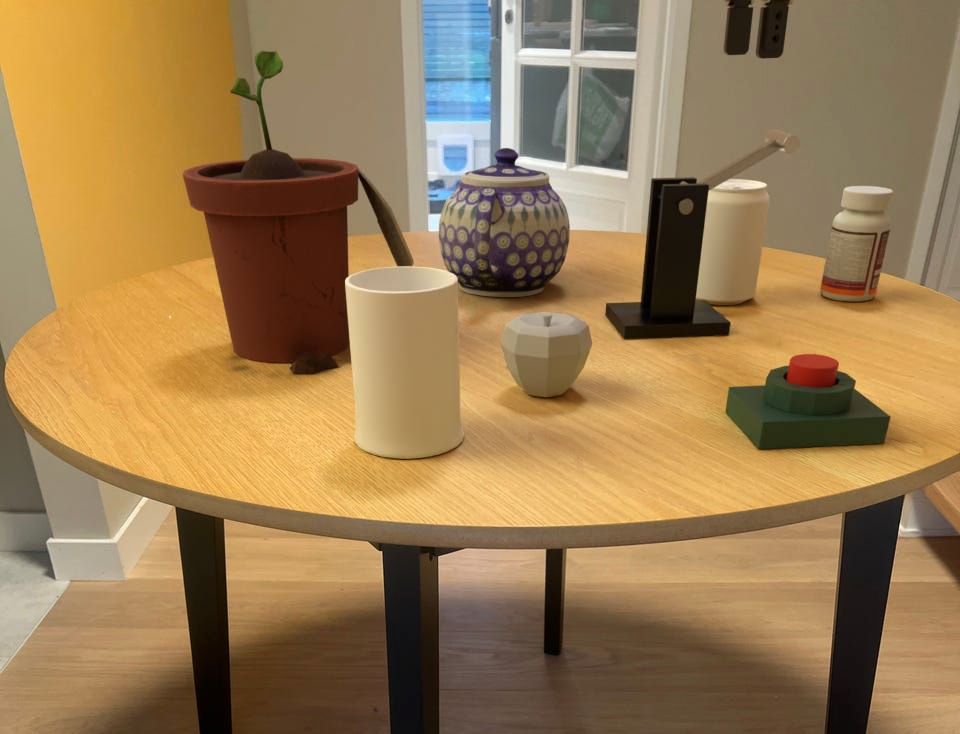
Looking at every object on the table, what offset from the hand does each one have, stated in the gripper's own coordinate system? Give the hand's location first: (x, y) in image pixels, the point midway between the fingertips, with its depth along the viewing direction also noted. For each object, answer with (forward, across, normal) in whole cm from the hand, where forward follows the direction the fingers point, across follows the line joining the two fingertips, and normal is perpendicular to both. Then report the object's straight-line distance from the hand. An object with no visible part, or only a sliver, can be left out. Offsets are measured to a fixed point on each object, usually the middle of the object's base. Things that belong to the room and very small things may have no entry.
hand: (751, 56), depth 85 cm
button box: (+24, -28, +3) cm, 37 cm away
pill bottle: (+25, +11, -19) cm, 33 cm away
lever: (+11, +2, 0) cm, 11 cm away
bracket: (+24, +2, +6) cm, 25 cm away
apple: (+24, -17, +22) cm, 36 cm away
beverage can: (+24, +12, -4) cm, 27 cm away
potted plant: (+23, -1, +42) cm, 48 cm away
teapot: (+24, +20, +20) cm, 37 cm away
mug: (+24, -25, +34) cm, 48 cm away
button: (+21, -28, +3) cm, 35 cm away
